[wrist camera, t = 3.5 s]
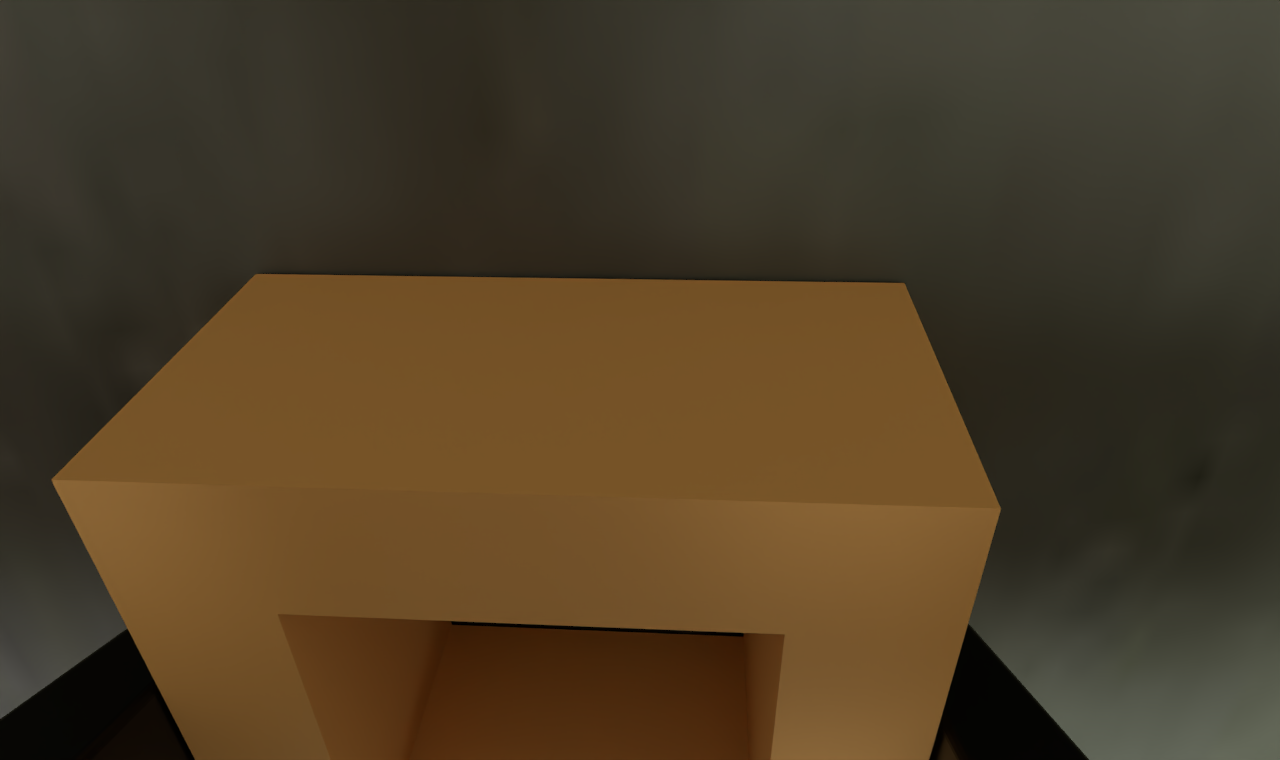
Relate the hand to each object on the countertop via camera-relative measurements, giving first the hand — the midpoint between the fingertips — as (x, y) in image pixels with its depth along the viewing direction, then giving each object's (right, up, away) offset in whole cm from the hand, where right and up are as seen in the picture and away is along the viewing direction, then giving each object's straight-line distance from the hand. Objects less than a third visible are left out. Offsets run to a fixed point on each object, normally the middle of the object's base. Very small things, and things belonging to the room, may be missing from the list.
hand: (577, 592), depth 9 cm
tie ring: (0, +1, +1) cm, 1 cm away
